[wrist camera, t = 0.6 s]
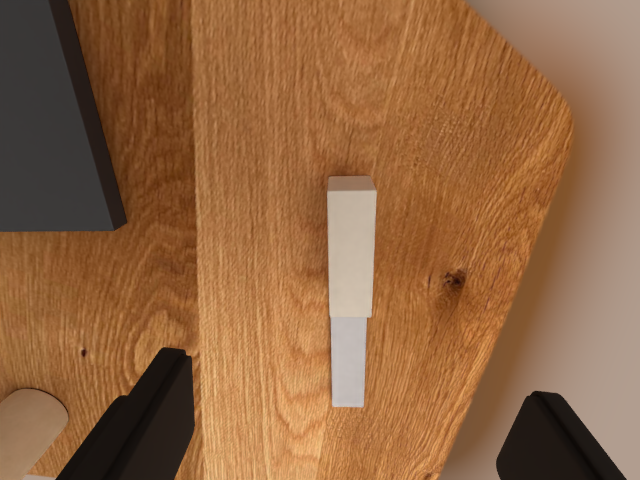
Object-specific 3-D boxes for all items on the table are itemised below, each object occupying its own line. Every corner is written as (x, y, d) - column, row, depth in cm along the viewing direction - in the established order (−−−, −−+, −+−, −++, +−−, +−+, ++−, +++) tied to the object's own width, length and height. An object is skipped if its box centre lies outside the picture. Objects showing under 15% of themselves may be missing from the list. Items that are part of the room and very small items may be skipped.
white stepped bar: (328, 176, 21) (326, 190, 18) (370, 175, 21) (377, 190, 17) (332, 399, 28) (331, 440, 25) (363, 400, 28) (366, 440, 25)
